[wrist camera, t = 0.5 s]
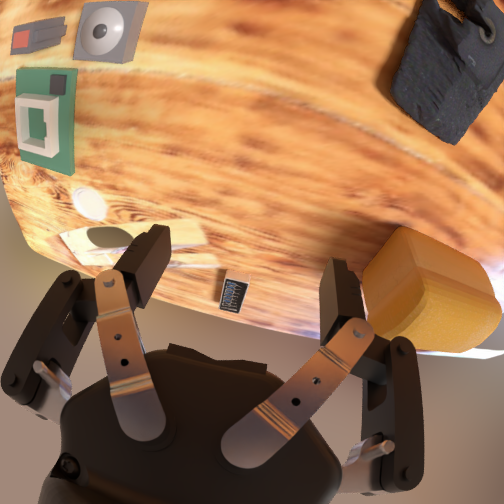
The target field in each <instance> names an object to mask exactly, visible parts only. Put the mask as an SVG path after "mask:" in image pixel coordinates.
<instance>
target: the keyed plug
mask: <svg viewBox="0 0 504 504" xmlns="http://www.w3.org/2000/svg"><path fill="white" fill-rule="evenodd" d="M64 20H65V17H57V18H50V19H44V20H39V21H34V22H30V23H26V24H22V25H18V26H15V27H14V29H13V36H12V44H11V53H10V55H16V54H27V53H32V52H35V51H38V50H41V49H44V48H48V47H51V46H54V45H58V44H60V41H61V36H63V35H65V33H66V28H67V25H64Z"/></svg>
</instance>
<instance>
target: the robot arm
mask: <svg viewBox="0 0 504 504" xmlns="http://www.w3.org/2000/svg"><path fill="white" fill-rule="evenodd" d="M170 258H171V238H170V228H169V226H164V225H158V224H154V225H153V226H152V227H151V229H150V230H149V231H148V233H146V232H143V233H141V234H140V235H138V236H137V237H135V239H134V240H133V241H132V243H131V245H129V247H128V248H127V250H126V251H125V252H124V253H123V255H122V256H121V258H120V259H119V260H118V262H117V263H116V265H115V266H114V267H113V269H110V270H105V271H103V272H101V273H100V274H99V275H98V276H97V277H96V278H94V279H81V277H80V274H79V273H78V272H77V271H75V270H68V271H65V272H63V273H61V274H60V275H59V276H58V278H57V279H56V280H55V282H54V283H53V285H52V286H51V288H50V289H49V291H48V292H47V293H46V295H45V297H44V298H43V300H42V301H41V303H40V304H39V306H38V308H37V309H36V311H35V312H34V314H33V316H32V317H31V319H30V321H29V323H28V324H27V326H26V328H25V329H24V331H23V333H22V335H21V337H20V339H19V340H18V342H17V344H16V346H15V348H14V350H13V352H12V354H11V356H10V358H9V360H8V362H7V364H6V367H5V369H4V371H3V373H2V376H1V387H2V389H3V391H4V392H5V393H6V394H7V395H8V396H10V397H11V398H12V399H14V400H15V401H16V402H17V403H18V404H19V405H21V406H22V407H24V408H25V409H26V410H28V411H30V412H31V413H33V414H35V415H37V416H38V417H40V418H42V419H45V420H48V419H49V420H51V421H53V422H54V423H56V424H58V425H60V429H61V440H62V441H61V453H60V456H59V459H58V461H57V462H56V464H55V465H54V467H53V468H52V470H51V471H50V473H49V474H48V476H47V477H46V479H45V480H44V483H43V486H42V490H41V493H40V497H39V501H38V504H329V503H330V501H331V500H332V498H333V497H334V496H335V495H336V494H337V493H339V494H341V493H361V494H363V495H365V496H372V495H381V494H388V493H395V492H402V491H408V490H411V489H413V488H415V487H416V486H417V485H418V484H419V483H420V481H421V480H422V477H423V474H424V420H423V406H422V394H421V385H420V376H419V369H418V362H417V355H416V350H415V347H414V345H413V343H412V342H411V341H410V340H409V339H408V338H406V337H403V336H396V337H394V338H393V339H392V340H391V341H390V340H388V339H385V338H383V337H380V336H378V335H377V334H375V333H374V329H373V327H372V326H371V324H370V323H369V322H367V321H366V318H365V312H364V306H363V300H362V296H361V295H362V294H361V290H360V284H359V279H358V278H357V276H356V275H355V273H354V272H352V271H348V269H347V263H346V260H345V259H340V258H334V257H330V259H329V261H328V264H327V266H326V269H325V271H324V274H323V276H322V279H321V282H320V287H319V301H320V345H321V346H325V347H324V348H321V349H319V350H318V351H317V352H316V353H315V354H314V355H313V357H311V358H310V359H309V360H308V361H307V362H306V363H305V364H304V365H303V366H302V367H301V368H300V369H299V370H298V371H297V372H296V373H295V374H294V375H293V376H292V377H291V378H290V379H289V380H288V381H287V382H284V381H282V380H281V379H280V378H279V377H277V376H276V375H274V374H272V373H270V372H268V371H266V370H267V364H263V363H257V362H252V361H246V360H214V359H212V358H210V357H208V356H206V355H204V354H202V353H200V352H198V351H196V350H194V349H191V348H187V347H183V346H179V345H175V344H171V343H169V346H168V349H163V350H155V351H151V352H148V353H146V350H145V347H144V345H143V342H142V339H141V335H140V332H139V328H138V325H137V322H136V318H135V315H134V311H135V309H136V307H139V308H142V309H144V308H145V306H146V304H147V302H148V300H149V299H150V297H151V295H152V293H153V291H154V289H155V287H156V285H157V283H158V281H159V280H160V278H161V276H162V274H163V272H164V270H165V269H166V267H167V265H168V263H169V261H170ZM69 312H70V313H69ZM68 314H69V315H68ZM67 315H68V316H67ZM66 317H67V318H66ZM65 319H66V320H65ZM64 321H65V322H64ZM94 322H97V327H98V333H99V338H100V344H101V348H102V353H103V358H104V363H105V367H106V371H107V375H108V376H106V377H105V378H103V379H101V380H100V381H98V382H96V383H94V384H93V385H91V386H89V387H87V388H86V389H84V390H82V391H80V392H79V393H77V394H75V395H74V396H72V397H71V395H72V392H71V390H72V383H71V380H70V378H69V377H70V374H71V372H72V370H73V367H74V365H75V363H76V360H77V358H78V356H79V354H80V351H81V349H82V347H83V345H84V343H85V341H86V339H87V337H88V335H89V332H90V330H91V328H92V326H93V324H94ZM63 323H64V324H63ZM349 373H350V374H353V375H355V376H357V377H360V378H362V379H363V399H362V430H361V442H359V443H357V444H355V445H354V446H353V447H352V448H351V450H350V452H349V456H348V459H347V461H346V462H345V464H344V465H342V466H341V464H340V462H339V460H338V458H337V457H336V455H335V454H334V453H333V451H332V450H331V448H330V447H329V445H328V444H327V443H326V441H325V440H324V438H323V437H322V436H321V434H320V433H319V431H318V430H317V428H316V427H315V425H314V424H313V423H312V421H311V420H310V418H311V417H312V416H313V415H314V414H315V413H316V411H317V410H318V409H319V408H320V407H321V406H322V405H323V404H324V403H325V401H326V400H327V399H328V398H329V397H330V396H331V395H332V393H333V392H334V391H335V390H336V389H337V387H338V386H339V385H340V384H341V382H342V381H343V380H344V379H345V378H346V376H347V375H348V374H349Z"/></svg>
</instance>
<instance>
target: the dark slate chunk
mask: <svg viewBox="0 0 504 504" xmlns="http://www.w3.org/2000/svg"><path fill="white" fill-rule="evenodd" d="M451 1H452V2H453V3H454V4H455V5H456V7H457V8H458V9H459V10H460V11H464V14H465V15H466V16H467V17H468V18H469V19H470V21H469V20H468V19H466V18H464V20H463V23H460V20H459V19H457V18H456V17H454V16H453V15H452V14H450V13H449V12H447V11H445V10H443V9H442V8H440V6H439V4H438V1H437V0H423V1H422V4H423V5H422V6H421V7H420V10H419V15H417V20H416V21H415V25H414V28H413V30H412V31H411V34H410V36H409V41H408V43H409V45H407V47H406V48H405V52H404V56H403V58H402V60H401V65H400V67H399V69H398V71H397V72H396V73H395V75H394V77H393V81H392V85H391V90H390V93H391V95H392V97H393V98H394V100H395V102H396V103H397V104H398V105H399V106H400V107H402V108H403V109H404V110H405V111H406V112H407V113H408V114H409V115H410V116H411V117H412V118H413V119H414V120H416V121H417V122H418V123H420V124H421V125H423V126H424V127H425V128H426V129H427V130H428V131H429V132H431V133H432V134H433V135H435V136H439V138H440V140H441V141H443V142H446V143H450V144H452V145H454V146H455V145H456V144H457V143H458V142H459V141H460V139H461V138H462V137H463V136H464V134H465V133H466V131H467V129H468V127H469V125H470V124H472V123H473V122H474V120H475V119H476V118H477V116H478V114H479V113H480V112H481V111H482V110H483V108H484V107H485V106H486V105H487V104H488V102H489V101H490V99H491V97H492V96H493V94H494V93H495V92H497V89H498V87H499V86H500V84H501V83H502V82H503V80H504V13H503V12H502V11H501V10H500V9H499V8H498V7H497V6H496V5H495V3H494V1H493V0H451Z"/></svg>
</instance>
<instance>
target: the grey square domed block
mask: <svg viewBox="0 0 504 504" xmlns="http://www.w3.org/2000/svg"><path fill="white" fill-rule="evenodd" d="M148 4H149V2H140V1H105V2H89V3H84V7H83V11H82V15H81V19H80V23H79V28H78V33H77V38H76V44H75V50H74V56H73V60H90V61H102V62H111V63H120V64H123V63H126V62H130V61H133V58H134V54H135V49H136V45H137V41H138V38H139V34H140V30H141V27H142V23H143V20H144V17H145V13H146V10H147V7H148Z"/></svg>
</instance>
